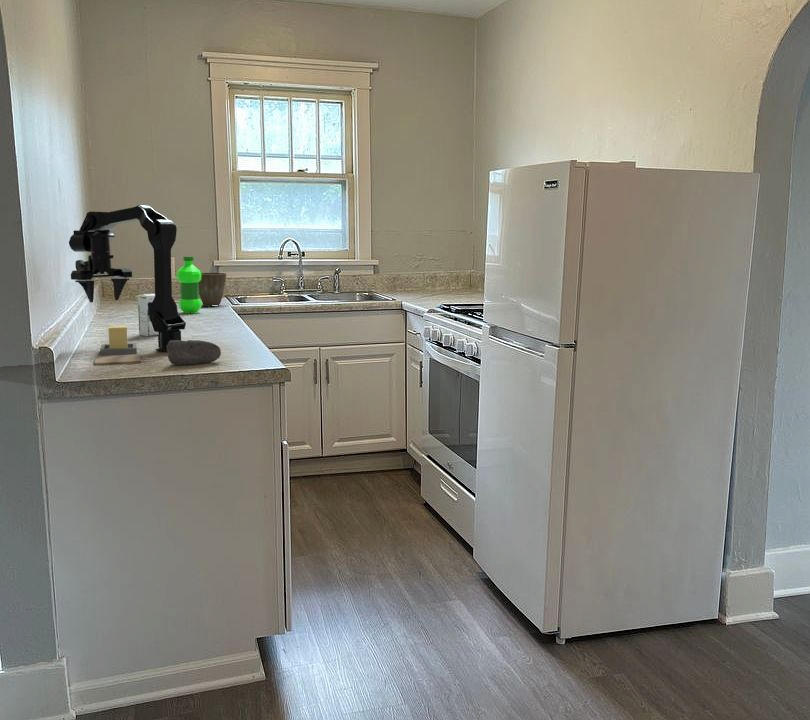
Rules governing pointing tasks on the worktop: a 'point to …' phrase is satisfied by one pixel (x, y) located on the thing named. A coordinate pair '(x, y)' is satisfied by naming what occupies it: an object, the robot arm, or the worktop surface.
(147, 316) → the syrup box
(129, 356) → the walnut board
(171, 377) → the worktop surface
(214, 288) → the plant pot
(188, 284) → the plastic bottle
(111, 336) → the block
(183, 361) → the perforated stone tool
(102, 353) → the hinged window frame
